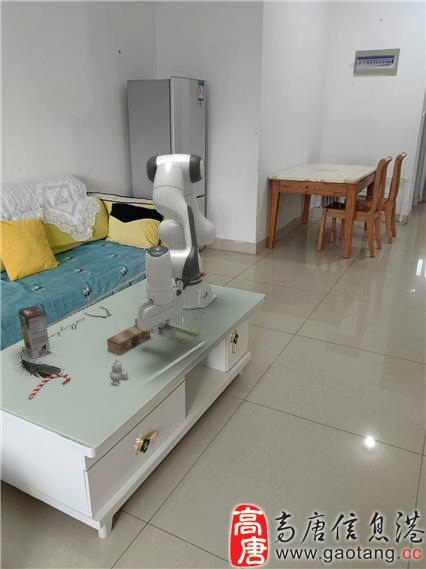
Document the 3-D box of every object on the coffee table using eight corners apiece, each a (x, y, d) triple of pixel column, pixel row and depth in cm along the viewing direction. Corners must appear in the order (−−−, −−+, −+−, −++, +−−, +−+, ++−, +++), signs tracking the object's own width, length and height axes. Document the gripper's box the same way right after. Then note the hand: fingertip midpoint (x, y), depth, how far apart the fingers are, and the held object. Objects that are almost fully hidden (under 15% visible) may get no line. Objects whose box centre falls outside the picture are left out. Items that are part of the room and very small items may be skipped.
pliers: (97, 305, 198) (131, 313, 189) (97, 307, 199) (132, 315, 189) (81, 313, 190) (116, 322, 181) (82, 314, 191) (117, 324, 181)
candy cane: (20, 394, 132) (56, 370, 145) (21, 397, 133) (56, 373, 146) (40, 400, 129) (74, 375, 142) (40, 404, 130) (75, 378, 143)
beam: (139, 337, 169) (138, 323, 167) (150, 341, 166) (149, 327, 164) (108, 354, 157) (106, 339, 155) (120, 358, 154) (118, 343, 152)
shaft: (141, 323, 157) (141, 315, 156) (176, 335, 149) (176, 327, 147) (135, 327, 155) (134, 319, 153) (170, 339, 146) (170, 330, 145)
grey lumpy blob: (116, 374, 144) (114, 353, 142) (133, 378, 142) (131, 357, 139) (106, 382, 140) (103, 360, 137) (123, 387, 137) (121, 365, 134)
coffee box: (24, 349, 160) (17, 309, 155) (42, 344, 164) (36, 304, 159) (33, 359, 154) (26, 317, 148) (51, 353, 158) (45, 312, 152)
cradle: (167, 328, 177) (167, 321, 176) (199, 338, 168) (199, 331, 167) (153, 336, 170) (153, 329, 169) (185, 347, 162) (185, 340, 161)
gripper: (145, 307, 135) (148, 347, 140) (186, 287, 151) (187, 323, 156) (131, 303, 138) (134, 341, 143) (172, 283, 154) (173, 319, 159)
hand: (162, 332), depth 150 cm, fingers closed on shaft, 3 cm apart
